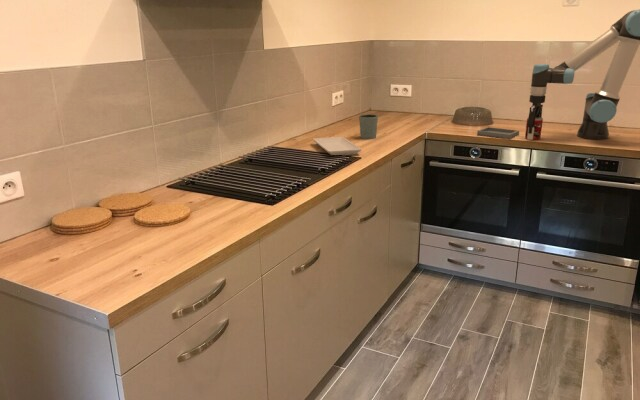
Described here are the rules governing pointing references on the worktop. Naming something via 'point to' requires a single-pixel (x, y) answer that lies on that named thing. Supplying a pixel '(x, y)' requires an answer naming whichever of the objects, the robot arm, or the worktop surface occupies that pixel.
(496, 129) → the tray
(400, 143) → the worktop surface
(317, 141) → the tray
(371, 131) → the grey green cup
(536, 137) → the canned food
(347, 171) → the worktop surface
